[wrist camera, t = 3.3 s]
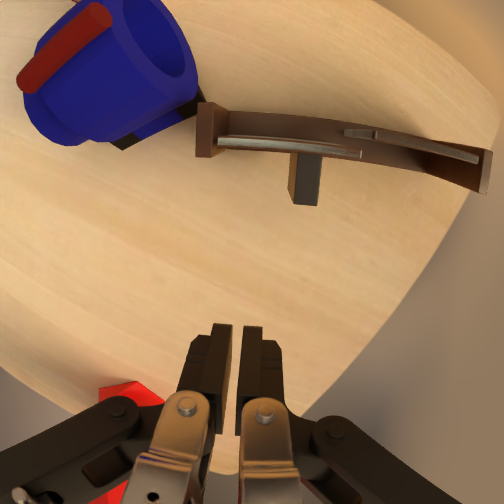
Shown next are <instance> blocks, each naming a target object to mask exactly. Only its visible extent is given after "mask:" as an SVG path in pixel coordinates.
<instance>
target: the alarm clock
mask: <svg viewBox="0 0 504 504" xmlns="http://www.w3.org/2000/svg"><path fill="white" fill-rule="evenodd" d="M16 82H17V85H18V87H19V89H20V90H21V91H23V97H24V105H25V109H26V112H27V114H28V116H29V118H30V121H31V122H32V124H33V125H34V126H35V127H36V128H37V130H38V131H39V132H40V133H41V134H42V135H43V136H45V137H46V138H48V139H49V140H51V141H52V142H54V143H57V144H60V145H64V146H78V145H79V144H81V143H83V142H85V141H87V140H89V139H90V140H93V141H96V142H110V143H111V144H113V145H114V146H116V147H118V148H119V149H121V150H124V149H126V148H128V147H130V146H132V145H134V144H136V143H137V142H139V141H141V140H143V139H145V138H147V137H149V136H151V135H153V134H155V133H157V132H159V131H161V130H163V129H166V128H168V127H170V126H172V125H174V124H176V123H178V122H181V121H183V120H185V119H187V118H190V117H192V116H194V115H196V114H197V107H198V103H199V102H206V100H205V98H204V96H203V94H202V91H201V89H200V87H199V85H198V75H197V70H196V65H195V61H194V58H193V55H192V53H191V50H190V47H189V45H188V43H187V40H186V38H185V36H184V34H183V32H182V30H181V28H180V27H179V25H178V24H177V22H176V20H175V19H174V17H173V16H172V14H171V13H170V12H169V10H168V9H167V8H166V6H165V5H164V4H163V3H162V1H161V0H81V1H79V2H78V3H77V4H76V5H75V6H74V7H72V8H71V9H70V10H69V11H68V12H67V13H66V14H65V15H63V16H62V17H61V18H60V19H59V20H58V21H57V22H56V23H55V24H54V25H53V26H52V27H51V28H50V29H49V30H48V31H47V32H46V33H45V34H44V35H43V37H42V38H41V39H40V40H39V41H38V43H37V46H36V50H35V53H34V57H33V58H32V59H31V60H30V61H29V62H28V63H27V64H26V65H25V67H24V68H23V69H22V70H21V71H20V72H19V74H18V75H17V78H16Z"/></svg>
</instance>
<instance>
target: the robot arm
mask: <svg viewBox="0 0 504 504" xmlns="http://www.w3.org/2000/svg"><path fill="white" fill-rule="evenodd" d="M232 333H233V325H231V324H219V323H214V324H213V327H212V331H211V335H210V336H208V335H198V336H197V337H196V338H195V339H194V340H193V341H192V342H191V344H190V348H189V351H188V354H187V357H186V362H185V364H184V367H183V370H182V374H181V377H180V380H179V384H178V387H177V390H176V393H174V394H172V395H171V396H170V397H168V399H167V400H166V402H164V403H162V404H158V405H152V406H138V405H137V403H136V402H135V401H134V400H133V399H131V398H129V397H126V396H112V397H109V398H107V399H105V400H103V401H101V402H99V403H97V404H95V405H94V406H92V407H90V408H88V409H86V410H84V411H82V412H80V413H79V414H77V415H75V416H73V417H71V418H69V419H67V420H65V421H63V422H61V423H59V424H57V425H55V426H53V427H51V428H49V429H48V430H45V431H43V432H42V433H39V434H37V435H36V436H33V437H31V438H30V439H27V440H25V441H23V442H21V443H19V444H17V445H15V446H12V447H10V448H8V449H6V450H4V451H1V452H0V504H88V503H90V502H92V501H93V500H95V499H97V498H99V497H100V496H102V495H104V494H105V493H107V492H109V491H110V490H112V489H114V488H115V487H117V486H119V485H120V484H122V483H123V482H125V481H127V480H128V482H127V484H126V487H125V490H124V493H123V495H122V498H121V501H120V504H203V500H204V491H205V486H206V482H207V477H208V472H209V467H210V462H211V457H212V452H213V446H214V441H215V434H222V432H223V424H224V417H225V409H226V401H227V393H228V386H229V378H230V371H231V360H232ZM235 436H240V449H239V487H238V504H303V497H302V489H301V482H302V483H303V484H304V485H305V486H306V487H307V488H308V489H309V490H310V491H311V492H312V493H313V494H314V495H315V496H316V497H317V498H319V500H321V501H322V502H323V503H324V504H462V503H460V502H458V501H457V500H456V499H454V498H453V497H451V496H449V495H448V494H447V493H445V492H444V491H442V490H441V489H439V488H438V487H436V486H435V485H434V484H432V483H431V482H429V481H428V480H427V479H425V478H424V477H422V476H421V475H420V474H418V473H417V472H415V471H414V470H413V469H411V468H410V467H409V466H407V465H406V464H405V463H403V462H402V461H401V460H399V459H398V458H397V457H395V456H394V455H392V453H390V452H389V451H388V450H386V449H385V448H384V447H382V446H381V445H380V444H379V443H377V442H376V441H375V440H373V439H372V438H371V437H370V436H368V435H367V434H366V433H365V432H363V431H362V430H361V429H360V428H358V427H357V426H356V425H355V424H353V423H352V422H351V421H350V420H348V419H346V418H344V417H341V416H326V417H324V418H321V419H320V420H319V421H317V422H315V421H311V420H307V419H303V418H300V417H298V416H296V415H295V414H293V413H292V412H291V411H290V410H289V409H288V408H287V406H286V404H285V401H284V385H283V370H282V351H281V348H280V347H279V345H278V344H277V342H276V341H275V340H262V327H259V326H244V328H243V337H242V347H241V357H240V367H239V377H238V387H237V401H236V424H235Z"/></svg>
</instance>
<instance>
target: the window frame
mask: <svg viewBox="0 0 504 504" xmlns="http://www.w3.org/2000/svg"><path fill="white" fill-rule="evenodd" d="M227 135H248V136H264V137H277V138H289V139H299V140H309V141H318V142H326V143H334V144H338V145H343V146H347V147H354V148H359V149H362V153H361V159H360V160H358V159H351V158H344V157H336V156H328V155H323V156H322V157H330V158H338V159H346V160H353V161H360V162H367V163H373V164H379V165H385V166H391V167H397V168H402V169H407V170H413V171H418V172H423V173H427V174H430V175H433V176H436V177H439V178H441V179H444V180H447V181H449V182H452V183H455V184H457V185H460V186H462V187H465V188H467V189H470V190H472V191H475V192H477V193H480V194H485V195H486V194H487V189H488V183H489V177H490V170H491V163H492V155H493V152H492V151H489V150H487V149H483V148H478V147H473V146H468V145H462V144H456V143H450V142H444V141H437V140H431V139H427V138H423V137H419V136H415V135H410V134H406V133H402V132H397V131H393V130H388V129H383V128H378V127H373V126H367V125H362V124H356V123H350V122H343V121H337V120H330V119H322V118H314V117H306V116H296V115H286V114H274V113H260V112H240V111H228V110H226V109H225V108H223V107H221V106H219V105H217V104H216V103H214V102H199V103H198V107H197V128H196V155H195V156H196V157H205V158H211V157H213V156H215V155H217V154H219V153H221V152H223V151H225V150H226V149H236V150H255V151H269V152H282V153H291V152H290V151H279V150H265V149H250V148H230V147H218V136H227Z"/></svg>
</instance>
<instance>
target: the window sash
mask: <svg viewBox="0 0 504 504" xmlns="http://www.w3.org/2000/svg"><path fill="white" fill-rule="evenodd" d="M218 147H230V148H250V149H265V150H279V151H290V152H291V154H290V167H289V178H288V191H289V194H290V196H291V199H292V201H293V204H298V205H309V206H317V203H318V194H319V185H320V176H321V167H322V156H323V155H328V156H336V157H344V158H351V159H358V160H360V159H361V153H362V149H359V148H354V147H347V146H343V145H338V144H334V143H326V142H318V141H309V140H299V139H289V138H277V137H264V136H248V135H227V136H218Z"/></svg>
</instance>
